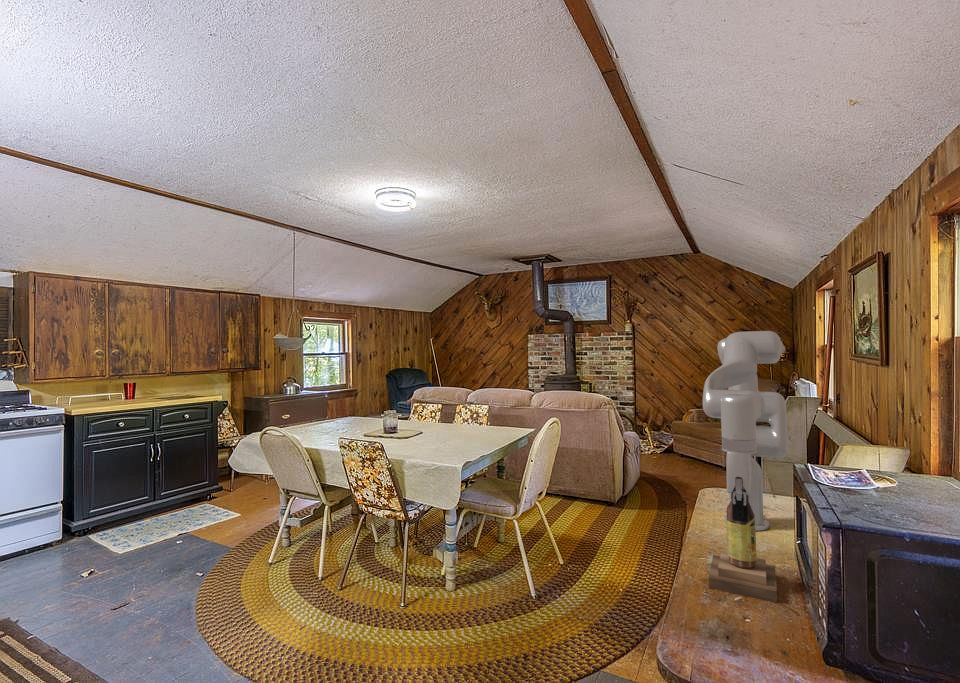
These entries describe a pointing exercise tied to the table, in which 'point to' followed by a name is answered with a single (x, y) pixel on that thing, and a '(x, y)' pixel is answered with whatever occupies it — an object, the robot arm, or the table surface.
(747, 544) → the sauce bottle
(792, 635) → the table surface
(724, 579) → the pedestal
